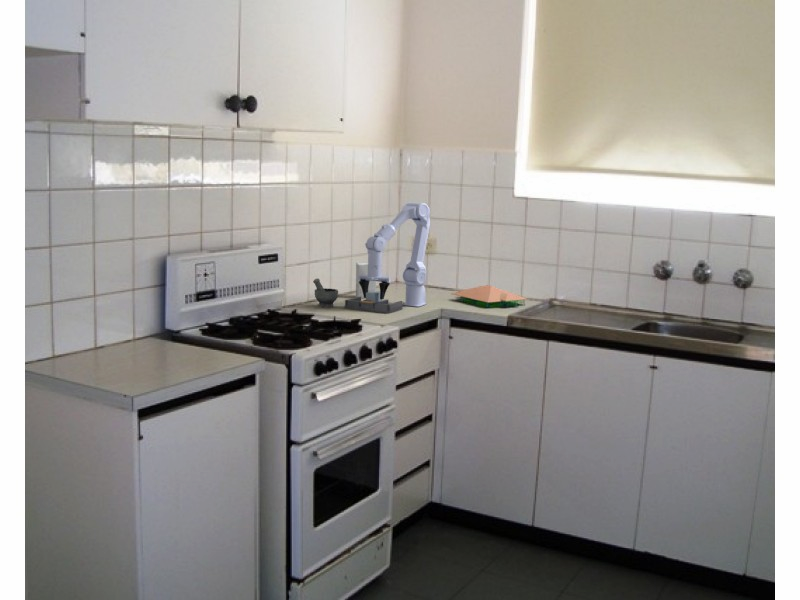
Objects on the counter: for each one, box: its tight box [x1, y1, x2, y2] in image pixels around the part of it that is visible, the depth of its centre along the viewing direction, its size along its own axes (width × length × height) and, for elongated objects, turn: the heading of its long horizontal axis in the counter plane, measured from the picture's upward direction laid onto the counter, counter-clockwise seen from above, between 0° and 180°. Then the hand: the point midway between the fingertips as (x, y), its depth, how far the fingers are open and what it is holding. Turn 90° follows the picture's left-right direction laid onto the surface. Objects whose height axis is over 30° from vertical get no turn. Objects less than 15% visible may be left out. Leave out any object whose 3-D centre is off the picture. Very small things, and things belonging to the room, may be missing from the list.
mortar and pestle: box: [313, 278, 339, 308], centre depth 353 cm, size 11×9×12 cm
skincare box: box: [355, 262, 377, 299], centre depth 380 cm, size 8×7×16 cm
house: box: [451, 284, 527, 309], centre depth 378 cm, size 23×33×8 cm
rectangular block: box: [365, 290, 383, 303], centre depth 351 cm, size 7×4×6 cm, turn 154°
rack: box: [344, 296, 404, 314], centre depth 351 cm, size 12×21×4 cm, turn 64°
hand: (373, 298), depth 351 cm, fingers open, 7 cm apart
